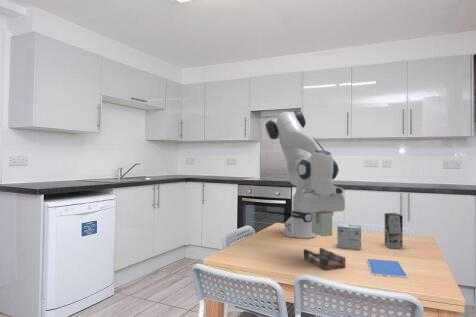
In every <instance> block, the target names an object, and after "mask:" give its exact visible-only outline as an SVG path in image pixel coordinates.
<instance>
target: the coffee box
mask: <svg viewBox="0 0 476 317" xmlns="http://www.w3.org/2000/svg"><path fill="white" fill-rule="evenodd" d="M403 217H404V216H403V215H402V214H399V213H397V212H389V213H388V212H387V213H386V212H385V213H384V245H385V246H386V247H387V248H389V249H393V250H396V249H397V250H402V249H403V228H404V227H403Z"/></svg>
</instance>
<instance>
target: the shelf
mask: <svg viewBox="0 0 476 317" xmlns="http://www.w3.org/2000/svg"><path fill="white" fill-rule="evenodd" d="M303 259H304V260H305V261H307V262H310V263H311V264H313V265H315V266H318V267H319V268H321V269H323V270H324V271H331V270H332V269H333V270H338V269H339V268H340V269H345V268H346V257H345V256H342V255H340V254H338V253H335V252H333V251H331V250H328V249H325V248H323V247H319V253H315V252H314V251H313V252H312V251H311V250H309V249H306V248H304V249H303Z"/></svg>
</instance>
